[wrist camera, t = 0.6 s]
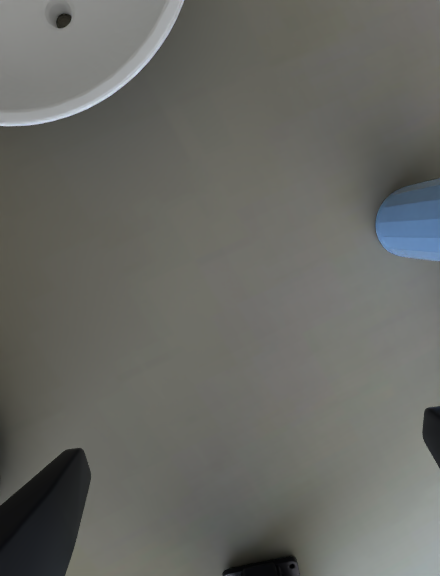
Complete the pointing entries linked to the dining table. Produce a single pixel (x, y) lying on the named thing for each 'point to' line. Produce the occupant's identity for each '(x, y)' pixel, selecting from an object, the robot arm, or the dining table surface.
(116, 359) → the dining table surface
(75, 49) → the dish
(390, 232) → the tumbler
